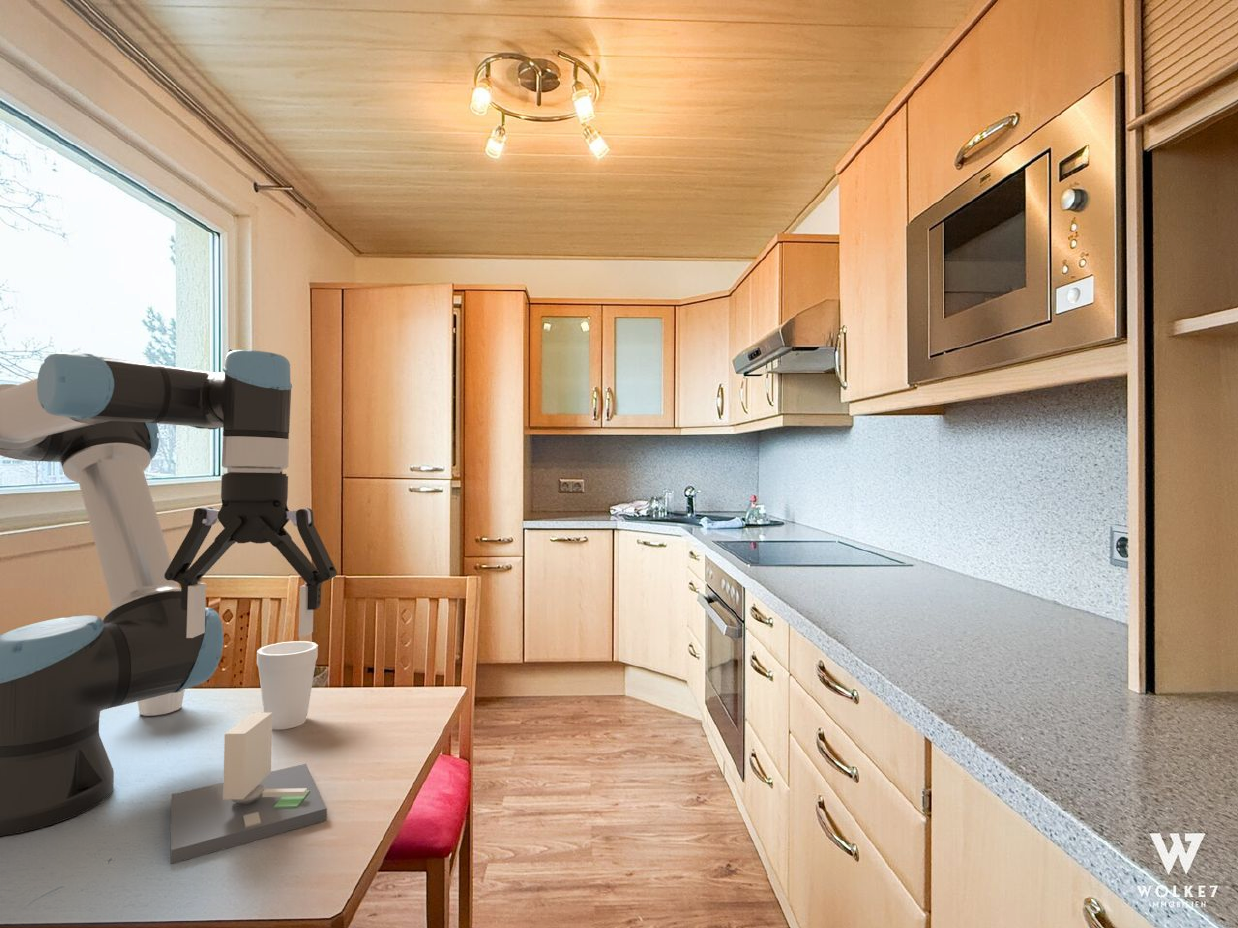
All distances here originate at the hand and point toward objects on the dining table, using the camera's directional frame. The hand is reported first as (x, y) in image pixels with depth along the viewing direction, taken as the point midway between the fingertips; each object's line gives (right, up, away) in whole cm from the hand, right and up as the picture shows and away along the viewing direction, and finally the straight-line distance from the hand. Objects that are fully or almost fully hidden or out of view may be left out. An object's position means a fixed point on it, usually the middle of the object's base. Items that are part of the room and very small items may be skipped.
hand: (251, 635), depth 82 cm
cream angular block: (+3, -21, -1) cm, 21 cm away
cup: (-36, -23, +33) cm, 54 cm away
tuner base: (0, -23, -1) cm, 23 cm away
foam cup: (-11, -23, +29) cm, 39 cm away
